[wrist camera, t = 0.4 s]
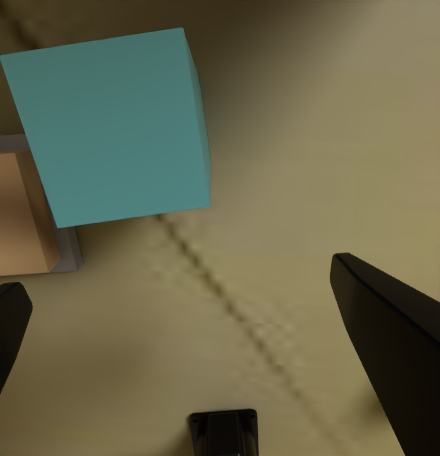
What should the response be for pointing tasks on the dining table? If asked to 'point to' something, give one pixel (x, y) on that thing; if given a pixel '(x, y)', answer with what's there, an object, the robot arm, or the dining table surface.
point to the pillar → (114, 126)
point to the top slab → (24, 218)
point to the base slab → (63, 235)
